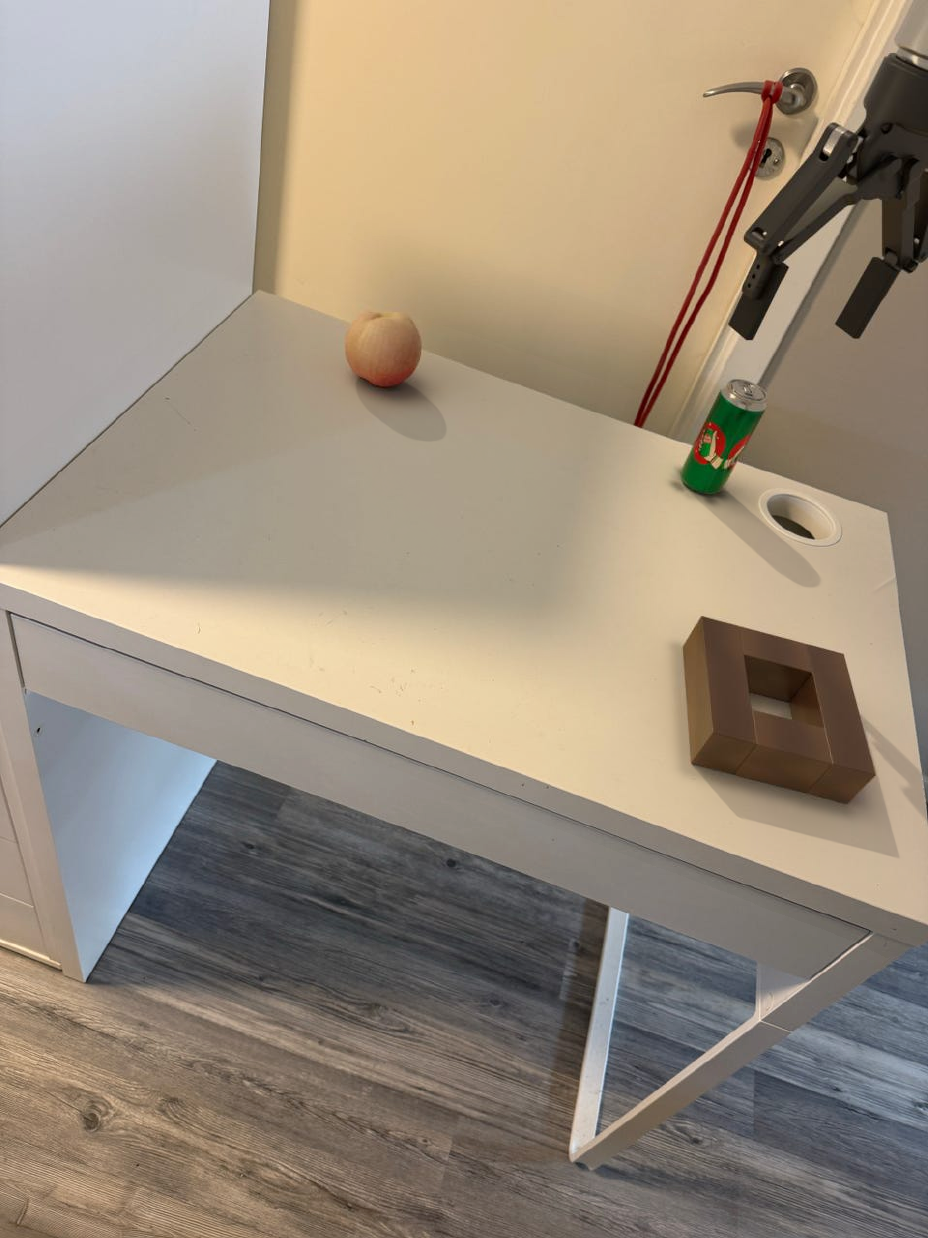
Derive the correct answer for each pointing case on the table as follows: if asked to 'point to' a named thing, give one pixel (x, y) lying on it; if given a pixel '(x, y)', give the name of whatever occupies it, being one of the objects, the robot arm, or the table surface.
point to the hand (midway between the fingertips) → (795, 332)
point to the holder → (767, 744)
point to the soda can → (724, 436)
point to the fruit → (383, 347)
